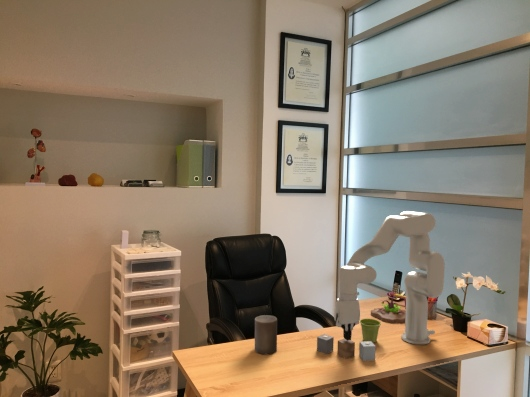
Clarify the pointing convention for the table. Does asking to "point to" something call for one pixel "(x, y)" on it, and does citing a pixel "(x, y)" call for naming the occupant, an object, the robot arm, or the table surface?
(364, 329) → the plant pot
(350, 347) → the walnut block
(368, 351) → the slate block
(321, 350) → the charcoal block
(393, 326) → the table surface
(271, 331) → the pillar candle
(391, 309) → the plant
